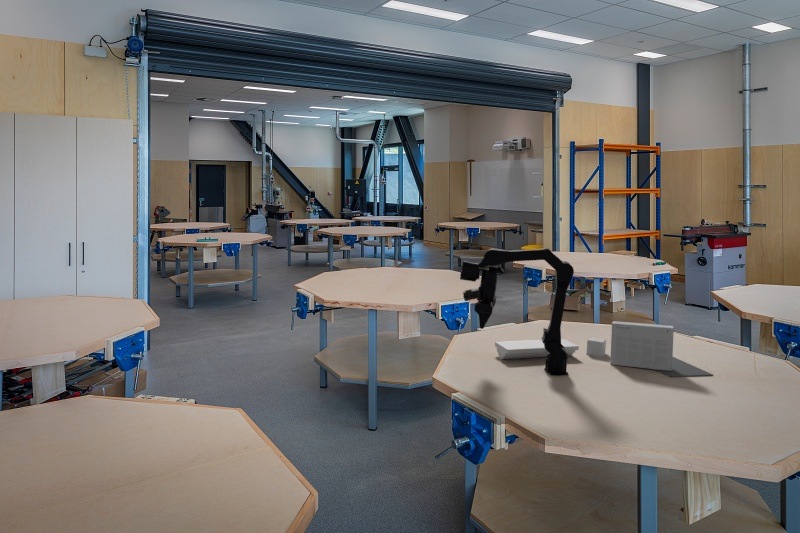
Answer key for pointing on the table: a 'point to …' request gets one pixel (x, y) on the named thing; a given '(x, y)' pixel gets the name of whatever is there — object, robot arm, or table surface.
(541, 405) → the table surface
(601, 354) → the white cube
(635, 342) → the skincare box
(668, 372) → the rubber mat
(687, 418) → the table surface
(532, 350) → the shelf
